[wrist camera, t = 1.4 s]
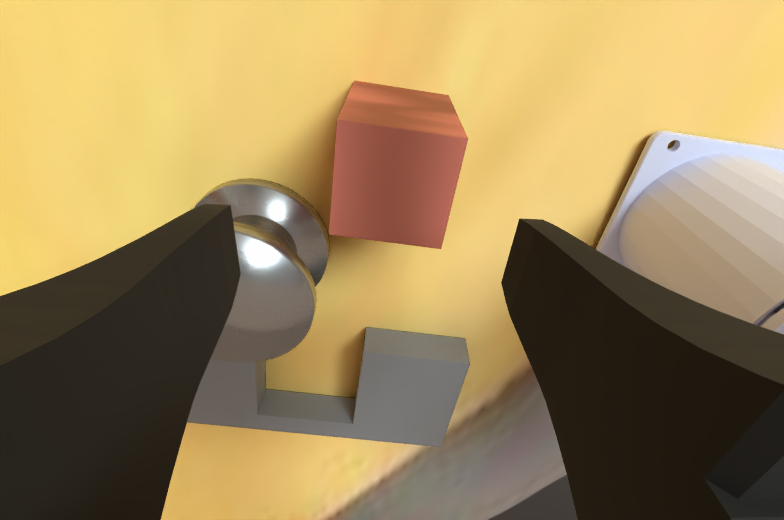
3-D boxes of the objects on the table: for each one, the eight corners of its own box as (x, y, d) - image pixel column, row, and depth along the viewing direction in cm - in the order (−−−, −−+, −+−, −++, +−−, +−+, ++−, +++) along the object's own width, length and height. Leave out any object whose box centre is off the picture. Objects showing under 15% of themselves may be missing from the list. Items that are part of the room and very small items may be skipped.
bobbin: (333, 189, 20) (317, 243, 16) (325, 302, 24) (310, 369, 20) (184, 169, 20) (127, 218, 16) (199, 287, 24) (157, 353, 19)
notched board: (465, 338, 25) (470, 363, 24) (438, 421, 30) (440, 447, 28) (158, 302, 24) (140, 326, 23) (176, 394, 29) (162, 419, 27)
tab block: (448, 95, 18) (468, 138, 13) (430, 182, 20) (441, 249, 15) (354, 80, 18) (337, 119, 13) (346, 170, 20) (328, 234, 15)
